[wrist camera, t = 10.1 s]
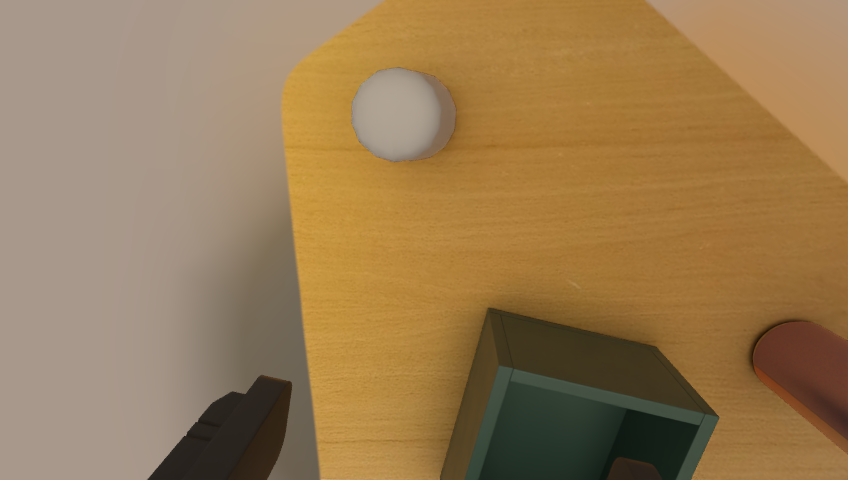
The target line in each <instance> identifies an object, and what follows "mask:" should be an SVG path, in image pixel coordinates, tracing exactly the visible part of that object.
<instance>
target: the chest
mask: <svg viewBox="0 0 848 480" xmlns="http://www.w3.org/2000/svg"><path fill="white" fill-rule="evenodd" d="M718 420H719V416H718V415H717V414H716V413H715V412H714V410H713V409H712V408H711V407H710V406H709V405H708V404H707V403H706V402H705V400H704V399H703V398H702V397H701V396H700V395H699V394H698V393H697V392H696V390H695V389H694V388H693V387H692V386H691V385H690V384H689V383H688V382H687V380H686V379H685V378H684V377H683V376H682V375H681V374H680V373H679V372H678V370H677V369H676V368H675V367H674V366H673V365H672V364H671V363H670V362H669V360H668V359H667V358H666V357H665V356H664V355H663V354H662V353H661V352H660V351H659V349H658V348H657V347H653V346H649V345H645V344H641V343H636V342H632V341H628V340H624V339H619V338H615V337H611V336H607V335H602V334H598V333H594V332H590V331H585V330H581V329H577V328H572V327H568V326H564V325H560V324H555V323H551V322H547V321H543V320H538V319H534V318H530V317H526V316H521V315H517V314H513V313H509V312H504V311H500V310H496V309H491V308H488V310H487V314H486V317H485V321H484V325H483V328H482V332H481V335H480V339H479V342H478V346H477V349H476V353H475V356H474V360H473V363H472V367H471V370H470V374H469V377H468V381H467V384H466V388H465V391H464V395H463V398H462V402H461V406H460V409H459V413H458V416H457V420H456V423H455V427H454V430H453V434H452V437H451V441H450V444H449V448H448V451H447V455H446V458H445V462H444V465H443V469H442V472H441V476H440V480H607V477H608V475H609V472H610V470H611V467H612V465H613V463H614V461H615V460H616V459H617V458H618V457H623V458H627V459H631V460H636V461H640V462H645V463H649V464H652V465H653V466H654V467H655V468H656V469H657V471H658V473H659V475H660V476H661V478H662V480H691V478H692V476H693V473H694V471H695V469H696V467H697V465H698V463H699V461H700V458H701V456H702V454H703V452H704V450H705V448H706V445H707V443H708V441H709V439H710V437H711V435H712V433H713V430H714V428H715V426H716V424H717V422H718Z"/></svg>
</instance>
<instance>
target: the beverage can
mask: <svg viewBox="0 0 848 480" xmlns="http://www.w3.org/2000/svg"><path fill="white" fill-rule="evenodd" d="M753 364H754V369H755V372H756V374H757V376H758V378H759V379H760V380H761V381H762V382H763V383H764V384H765V385H766V386H767V387H769V388H770V389H771V390H772V391H773V392H775V393H776V394H777V395H778V396H779V397H780V398H782V399H783V400H784V401H785V402H786V403H788V404H789V405H790V406H791V407H792V408H793V409H795V410H796V411H797V412H798V413H799V414H801V415H802V416H803V417H804V418H805V419H806V420H808V421H809V422H810V423H811V424H812V425H813V426H815V427H816V428H817V429H818V430H819V431H821V432H822V433H823V434H824V435H825V436H826V437H828V438H829V439H830V440H831V441H832V442H834V443H835V444H836V445H837V446H838V447H839V448H841V449H842V450H843V451H844V452H845V453H847V454H848V341H847V340H845V339H843V338H841V337H840V336H838V335H836V334H834V333H833V332H831V331H829V330H827V329H825V328H824V327H822V326H820V325H818V324H815V323H811V322H789V323H784V324H781V325H778V326H776V327H774V328H772V329H770V330H769V331H767V332H766V333H765V334H764V335H763V336H762V337H761V338H760V339H759V341H758V342H757V344H756V346H755V349H754V353H753Z"/></svg>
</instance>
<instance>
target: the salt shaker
mask: <svg viewBox="0 0 848 480" xmlns="http://www.w3.org/2000/svg"><path fill="white" fill-rule="evenodd" d="M455 120H456V107H455V105H454V102H453V99H452V97H451V94H450V92H449V90H448V89H447V88H446V87H445V86H444V85H443V84H442V83H441V82H440V81H439V80H438V79H437V78H436V77H435V76H432V75H428V74H425V73H421V72H418V71H411V70H407V69H404V68H400V67H397V68H391V69H385V70H379V71H377V72H376V73H375V74H373V75H372V76H371V77H370V78H368V79H367V80H366V81H364V82H363V83H362V84H361V85H360V87H359V89H358V91H357V93H356V95H355V97H354V99H353V101H352V125H353V128H354V130H355V132H356V135H357V137H358V140H359V142H360V143H361V144H362V145H363V146H365V147H366V148H367V149H368V150H369V151H370V152H371V153H372V154H374V155H375V156H376V157H379V158H382V159H386V160H389V161H392V162H400V161H406V160H409V161H414V160H420V159H426V158H430V157H431V156H433V155H434V154H436V153H437V152H439V151H440V150H441V149H443V148H444V147H445V146H446V144H447V143H448V141H449V139H450V137H451V135H452V134H453V132H454V130H455Z"/></svg>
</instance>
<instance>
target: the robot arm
mask: <svg viewBox="0 0 848 480" xmlns="http://www.w3.org/2000/svg"><path fill="white" fill-rule="evenodd" d="M291 390H292V383H291V382H290V381H286V380H281V379H277V378H273V377H268V376H264V375H261V376H259V377H258V378H257V380H256V381H255V382H254V384H253V385H252V386H251V388H250V389H249V390H248V392H247V393H246V394H241V393H237V392H230V393H229V394H227V395H225V396H224V397H222V398H220V399H219V400H217V401H215V402H213V403H212V404H211V405H210V406H209V407H208V409H207V410H206V411H205V412H204V413H203V414H202V416H201V417H200V418H199V420H198V422H196V423H195V424H194V425H193V426H192V427H191V429H190V430H189V431H188V432H187V435H186V436H184V437H183V438H182V440H181V441H180V442H179V443H178V444H177V445H176V446H175V448H174V449H173V450H172V451H171V452H170V454H169V455H168V456H167V457H166V458H165V459H164V461H163V462H162V463H161V464H160V465H159V467H158V468H157V469H156V470H155V471H154V472H153V474H152V475H151V476H150V477H149V478H148V480H267V478H268V477H269V475H270V473H271V470H272V469H273V467H274V465H275V463H276V461H277V459H278V456H279V454H280V451H281V448H282V445H283V442H284V438H285V432H286V426H287V418H288V412H289V405H290V398H291ZM607 480H662V478H661V476H660V475H659V473H658V471H657V469H656V468H655V467H654V466H653V465H652V464H649V463H645V462H640V461H636V460H631V459H627V458H623V457H618V458H617V459H616V460H615V461H614V463H613V465H612V467H611V470H610V472H609V475H608V477H607Z"/></svg>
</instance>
